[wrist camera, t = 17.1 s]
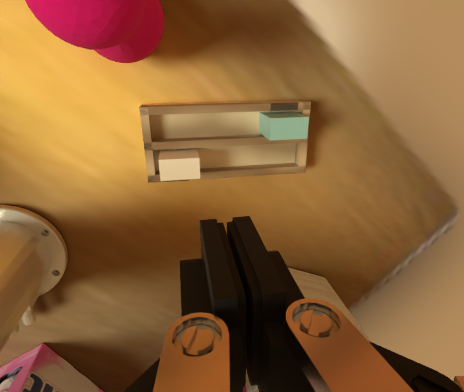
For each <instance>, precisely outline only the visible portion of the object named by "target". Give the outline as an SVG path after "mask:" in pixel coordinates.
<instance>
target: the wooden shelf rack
mask: <svg viewBox="0 0 464 392" xmlns="http://www.w3.org/2000/svg"><path fill="white" fill-rule="evenodd" d="M310 107H311V102H309V101H305V100H276V101H241V102H206V103H171V104H142V105H141V106H140V116H141V124H142V132H143V141H144V149H145V158H146V166H147V174H148V183H150V182H170V181H160V171H159V162H158V159H159V153H160V150H162V149H182V148H197V151H198V154H199V160H200V179H212V178H227V177H243V176H258V175H273V174H289V173H304V172H305V167H306V155H307V143H308V135H307V139H290V140H268V139H267V138H266V137H265V136H263V135H262V134H261V133H260V132H259V112H282V111H295V112H298V113H300V114H303V115H305V116H308V117H309V119H310ZM308 131H309V123H308ZM188 180H196V179H188ZM172 181H185V180H172Z"/></svg>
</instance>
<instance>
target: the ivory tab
mask: <svg viewBox="0 0 464 392" xmlns="http://www.w3.org/2000/svg"><path fill="white" fill-rule="evenodd" d="M158 162H159V171H160V181H172V180H188V179H200V160H199V154H198V151H197V148H182V149H162V150H160V153H159V159H158Z"/></svg>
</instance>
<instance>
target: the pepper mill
mask: <svg viewBox="0 0 464 392" xmlns="http://www.w3.org/2000/svg"><path fill="white" fill-rule="evenodd" d="M25 1H26V3H27V5H28V7H29V8H30V10H31V11H32V12H33V14H34V15H35V17H36V18H37V19H38V20H39V21H40V22H41V23H42V24H43V25H44V26H45V27H46V28H47V29H48V30H49V31H50V32H52V33H53V34H54V35H55V36H57V37H59V38H60V39H62V40H64V41H65V42H67V43H70V44H72V45H75V46H77V47H82V48H86V49H90V50H95V51H96V52H97V53H99V54H100V55H102V56H103V57H105V58H107V59H109V60H112V61H115V62H120V63H132V62H137V61H140V60H142V59H144V58H146V57H147V56H149V55H150V54H151V53H152V52H153V51H154V50H155V49H156V47H157V46H158V44H159V42H160V40H161V38H162V34H163V29H164V14H163V9H162V6H161V3H160V0H25Z"/></svg>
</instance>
